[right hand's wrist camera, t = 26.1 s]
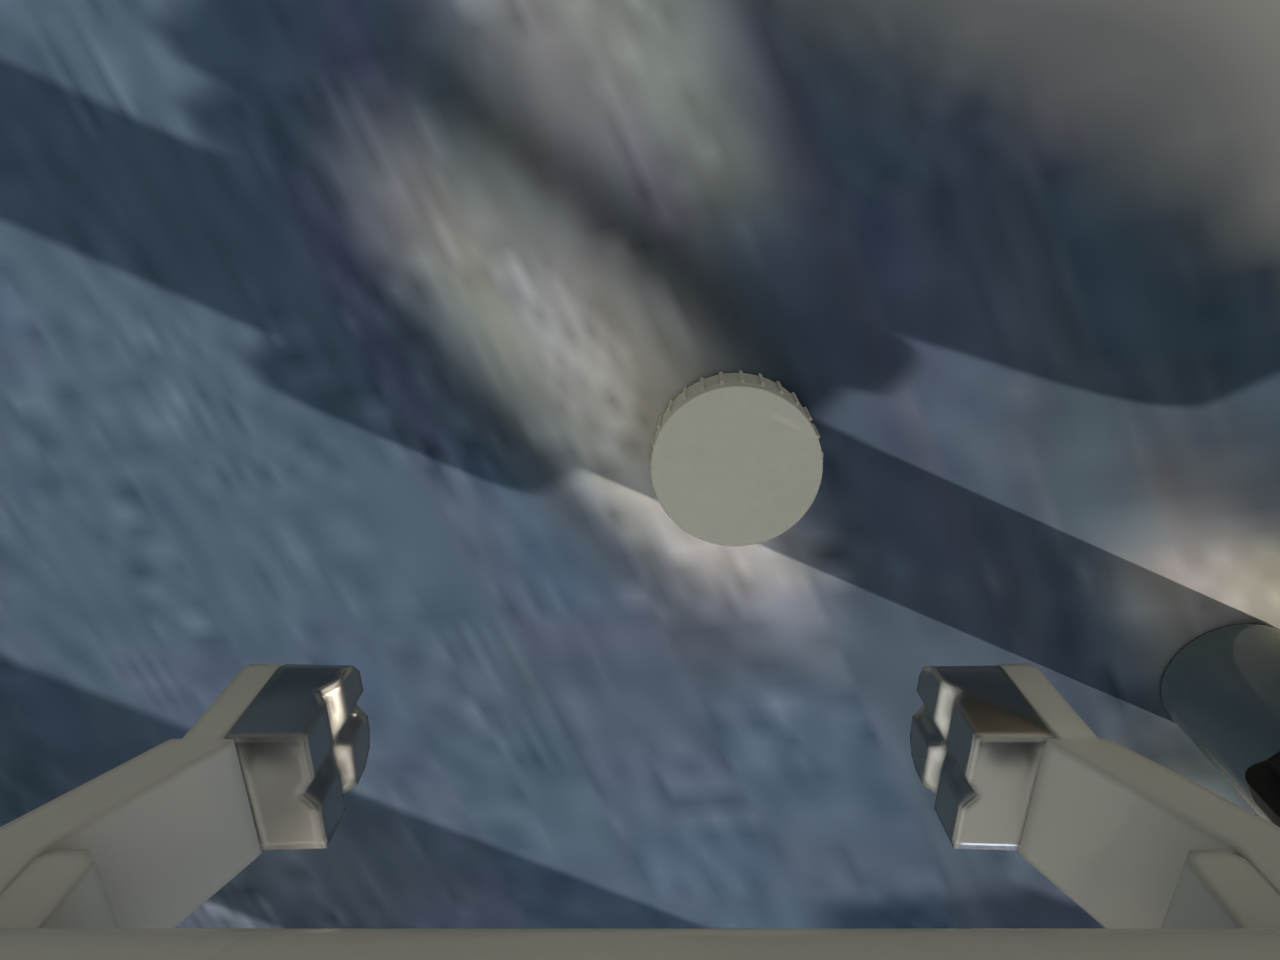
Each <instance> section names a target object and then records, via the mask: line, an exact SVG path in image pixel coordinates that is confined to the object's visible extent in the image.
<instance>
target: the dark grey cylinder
mask: <svg viewBox="0 0 1280 960" xmlns="http://www.w3.org/2000/svg"><path fill="white" fill-rule="evenodd" d="M1161 699H1162V702H1163V706H1164V708H1165V710H1166V712H1167V713H1168V714H1169V716H1170V717H1171V718H1172V719H1173V721H1174V722H1175V723H1176V724H1177V725H1178V726H1179V727H1180V728H1181V729H1182V731H1183V732H1184V733H1185V734H1186V735H1187V736H1188V737H1189V738H1190V739H1191V741H1192V742H1193V743H1194V744H1195V745H1196V746H1197V747H1198V748H1199V749H1200V751H1201V752H1202V753H1203V754H1204V755H1205V756H1206V757H1207V758H1208V760H1209V761H1210V762H1211V763H1212V764H1213V765H1214V766H1215V767H1216V768H1217V770H1218V771H1219V772H1220V773H1221V774H1222V775H1223V776H1224V777H1225V778H1226V780H1227V781H1228V782H1229V783H1230V784H1231V785H1232V786H1233V787H1234V788H1235V790H1236V791H1237V792H1238V793H1239V794H1240V795H1241V796H1242V797H1243V798H1244V800H1245V801H1246V802H1247V803H1248V804H1249V805H1250V806H1251V807H1252V809H1253V810H1254V811H1255V812H1256V813H1257V814H1258V815H1259V816H1260V817H1261V818H1263V819H1265V820H1267V821H1269V822H1271V823H1273V822H1272V821H1271V820H1270V819H1269V817H1268V816H1267V815H1266V814H1265V813H1264V812H1263V811H1262V810H1261V809H1260V808H1259V806H1258V805H1257V804H1256V803H1255V802H1254V800H1253V798H1252V796H1251V793H1250V790H1249V787H1248V784H1247V781H1246V778H1245V773H1246V770H1247V769H1248V768H1249V767H1250V766H1252V765H1253V764H1256V763H1259V762H1262V761H1265V760H1267V759H1268V758H1270V757H1271V756H1273V755H1274V754H1276V753H1278V752H1279V751H1280V629H1277V628H1274V627H1271V626H1266V625H1261V624H1238V625H1231V626H1226V627H1222V628H1219V629H1216V630H1213V631H1211V632H1208V633H1206V634H1204V635H1202V636H1200V637H1198V638H1196V639H1195V640H1193V641H1192V642H1190V643H1189V644H1188V645H1186V646H1185V647H1184V648H1183V649H1182V650H1181V651H1180V652H1179V653H1178V654H1177V655H1176V656H1175V657H1174V658H1173V660H1172V661H1171V662H1170V664H1169V665H1168V667H1167V669H1166V671H1165V673H1164V676H1163V679H1162V683H1161ZM1273 824H1274V823H1273Z"/></svg>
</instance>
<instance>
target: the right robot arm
mask: <svg viewBox="0 0 1280 960" xmlns="http://www.w3.org/2000/svg"><path fill="white" fill-rule="evenodd" d="M362 692H363V686H362V681H361V676H360V671H359V670H358V669H357V668H355V667H354V666H346V665H299V664H286V665H283V664H251V665H248V666H246V667H243V668H242V669H241V670H240V671H239V672H238V674H237V675H236V676H235V677H234V678H233V679H232V681H231V682H230V683H229V684H228V685H227V686H226V688H225V689H224V690H223V691H222V692H221V693H220V695H219V696H218V697H217V698H216V699H215V700H214V702H213V703H212V704H211V705H210V706H209V707H208V709H207V710H206V711H205V712H204V713H203V714H202V716H201V717H200V718H199V719H198V720H197V721H196V723H195V724H194V725H193V726H192V727H191V728H190V730H189V731H188V732H187V733H186V734H185V735H184V737H183V738H182V739H169V740H167V741H165V742H163V743H161V744H159V745H158V746H156V747H154V748H152V749H150V750H148V751H146V752H144V753H142V754H140V755H138V756H136V757H134V758H132V759H131V760H129V761H127V762H125V763H123V764H121V765H119V766H117V767H115V768H113V769H111V770H109V771H107V772H105V773H103V774H102V775H100V776H98V777H96V778H94V779H92V780H90V781H88V782H86V783H84V784H82V785H80V786H78V787H76V788H75V789H73V790H71V791H69V792H67V793H65V794H63V795H61V796H59V797H57V798H55V799H53V800H51V801H49V802H47V803H46V804H44V805H42V806H40V807H38V808H36V809H34V810H32V811H30V812H28V813H26V814H24V815H22V816H20V817H19V818H17V819H15V820H13V821H11V822H9V823H7V824H5V825H3V826H1V827H0V960H1280V827H1278V826H1276V825H1275V824H1273V823H1271V822H1269V821H1267V820H1265V819H1263V818H1261V817H1259V816H1257V815H1255V814H1253V813H1251V812H1250V811H1248V810H1246V809H1244V808H1242V807H1240V806H1238V805H1236V804H1234V803H1232V802H1230V801H1228V800H1226V799H1224V798H1223V797H1221V796H1219V795H1217V794H1215V793H1213V792H1211V791H1209V790H1207V789H1205V788H1203V787H1201V786H1199V785H1198V784H1196V783H1194V782H1192V781H1190V780H1188V779H1186V778H1184V777H1182V776H1180V775H1178V774H1176V773H1174V772H1173V771H1171V770H1169V769H1167V768H1165V767H1163V766H1161V765H1159V764H1157V763H1155V762H1153V761H1151V760H1149V759H1147V758H1146V757H1144V756H1142V755H1140V754H1138V753H1136V752H1134V751H1132V750H1130V749H1128V748H1126V747H1124V746H1122V745H1121V744H1119V743H1117V742H1115V741H1113V740H1111V739H1098V738H1097V737H1096V735H1095V734H1094V733H1093V732H1092V731H1091V730H1090V728H1089V727H1088V726H1087V725H1086V724H1085V723H1084V722H1083V720H1082V719H1081V718H1080V717H1079V716H1078V715H1077V713H1076V712H1075V711H1074V710H1073V709H1072V708H1071V706H1070V705H1069V704H1068V703H1067V702H1066V701H1065V699H1064V698H1063V697H1062V696H1061V695H1060V694H1059V692H1058V691H1057V690H1056V689H1055V688H1054V687H1053V685H1052V684H1051V683H1050V682H1049V681H1048V680H1047V678H1046V677H1045V676H1044V675H1043V674H1042V673H1041V671H1040V670H1039V669H1038V668H1037V667H1035V666H1033V665H1031V664H1002V665H993V666H924V667H923V669H922V671H921V673H920V675H919V680H918V685H917V692H918V694H919V696H920V698H921V699H922V701H923V703H924V705H923V706H922V707H921V708H920V709H919V710H918V711H917V712H916V713H915V714H914V715H913V716H912V723H911V731H910V743H911V754H912V758H913V762H914V765H915V769H916V771H917V774H918V776H919V778H920V780H921V782H922V784H923V785H925V786H926V787H927V788H929V789H930V790H932V791H933V792H934V793H936V794H937V796H936V801H935V807H934V809H935V811H936V813H937V815H938V817H939V819H940V822H941V824H942V826H943V828H944V830H945V832H946V834H947V836H948V838H949V840H950V842H951V844H952V846H953V848H958V849H994V850H1019V852H1018V854H1020V855H1021V856H1022V857H1023V858H1024V859H1025V860H1027V861H1028V862H1029V863H1030V864H1031V865H1032V866H1034V867H1035V868H1036V869H1037V870H1038V871H1039V872H1041V873H1042V874H1043V875H1044V876H1045V877H1046V878H1048V879H1049V880H1050V881H1051V882H1052V883H1053V884H1055V885H1056V886H1057V887H1058V888H1059V889H1060V890H1062V891H1063V892H1064V893H1065V894H1066V895H1067V896H1069V897H1070V898H1071V899H1072V900H1073V901H1074V902H1076V903H1077V904H1078V905H1079V906H1080V907H1081V908H1083V909H1084V910H1085V911H1086V912H1087V913H1088V914H1090V915H1091V916H1092V917H1093V918H1094V919H1095V920H1096V921H1098V922H1099V923H1100V924H1101V925H1102V926H1103V927H1105V928H1081V929H756V928H334V929H248V928H176V927H177V926H178V925H179V924H180V923H181V922H183V921H184V920H185V919H186V918H187V917H188V916H190V915H191V914H192V913H193V912H194V911H195V910H197V909H198V908H199V907H200V906H201V905H202V904H204V903H205V902H206V901H207V900H208V899H209V898H211V897H212V896H213V895H214V894H215V893H216V892H218V891H219V890H220V889H221V888H222V887H223V886H225V885H226V884H227V883H228V882H229V881H230V880H232V879H233V878H234V877H235V876H236V875H237V874H239V873H240V872H241V871H242V870H243V869H244V868H246V867H247V866H248V865H249V864H250V863H251V862H253V861H254V860H255V859H256V858H257V857H258V856H260V855H261V853H262V852H261V850H285V849H320V848H327V846H328V844H329V842H330V840H331V838H332V836H333V834H334V832H335V830H336V828H337V826H338V824H339V822H340V820H341V818H342V815H343V813H344V811H345V809H346V807H345V801H344V796H343V794H344V793H346V792H347V791H348V790H350V789H351V788H353V787H354V786H355V785H357V784H358V782H359V780H360V778H361V776H362V773H363V771H364V769H365V766H366V761H367V757H368V752H369V748H370V728H369V722H368V716H367V715H366V714H365V713H364V712H363V711H362V710H361V709H360V708H359V707H358V706H357V705H356V703H357V701H358V699H359V698H360V696H361V694H362Z"/></svg>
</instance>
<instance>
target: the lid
mask: <svg viewBox="0 0 1280 960" xmlns="http://www.w3.org/2000/svg"><path fill="white" fill-rule="evenodd" d="M810 421H812V418H811V416H810V414H809V412H808V410H807V408H806V406H805V407H802V405H801V404H800V403H799V401H798V399H797V397H796V394H795V393H794V392H792V393H790V392H789V391H787V390H786V389H785V388H783V387H782V386H781V383H780V382H779V381H776V383H775V382H773V381H771V380H769V379H767V378H764V377H763V376H762V374H760V373H758V375H753V374H748V373H743V371H742V370H739V373H724V374H723V372H722V371H721V372H719V375H714V376H711V377H708V378H705V379H704V378H703V377H701V378H700V381H698V382H696V383H694V384H693V385H691V386H690V387H688V388H687V387H686V386H685V387H684V388H683V392H682V393H680V394H679V395H678V396H677V397H676V398H675V399H674V400H672V399H671V400H670V401H669V405H668V408H667V409H666V411H665V412H664V414H663V416H662V415H660V416H659V419H658V424H657V431H656V432H653V437H652V442H651V447H653V450H651V454H650V459H649V466H651V478H652V479H651V482H652V484H653V488H654V491H655V493H656V496H657V499H658V500H659V502H660V504H661V506H662V508H663V509H664V511H665V512H666V513H667V515H668V516H669V517H670V518H671V519H672V520H673V521H674V522H675V523H676V524H677V525H678V526H679V527H681V528H682V529H683V530H684V531H686V532H688V533H689V534H691V535H692V536H695V537H697V538H699V539H701V540H704V541H707V542H710V543H713V544H718V545H724V546H746V545H753V544H757V543H761V542H765V541H767V540H770V539H772V538H775V537H776V536H778V535H780V534H782V533H784V532H785V531H787V530H788V529H789V528H791V527H792V526H793V525H794V524H796V523H797V522H798V521H799V520H800V519H801V518H802V517H803V515H804V514H805V513H806V512H807V511H808V509H809V508H810V506H811V504H812V503H813V501H814V499H815V497H816V495H817V493H818V490H819V487H820V483H821V479H822V472H823V452H822V450H821V446H820V442H819V439H818V438H820V435H819V433H818V431H817V429H816V427H815V425H814V423H812V424H811V422H810Z"/></svg>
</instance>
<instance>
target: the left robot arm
mask: <svg viewBox="0 0 1280 960" xmlns="http://www.w3.org/2000/svg"><path fill="white" fill-rule="evenodd" d="M1245 778H1246V781H1247V784H1248V787H1249V790H1250V793H1251V796H1252V798H1253V800H1254V802H1255V803H1256V804H1257V805H1258V806H1259V808H1260V809H1261V810H1262V811H1263V812H1264V813H1265V814H1266V815H1267V816H1268V817H1269V819H1270V820H1271V821H1272V822H1273V823H1274V824H1275V825H1276V826H1278V827H1280V751H1279V752H1278V753H1276V754H1274V755H1273V756H1271V757H1270V758H1268V759H1267V760H1265V761H1262V762H1259V763H1256V764H1253V765H1252V766H1250V767H1249V768H1248V769H1247V770H1246V773H1245Z"/></svg>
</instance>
